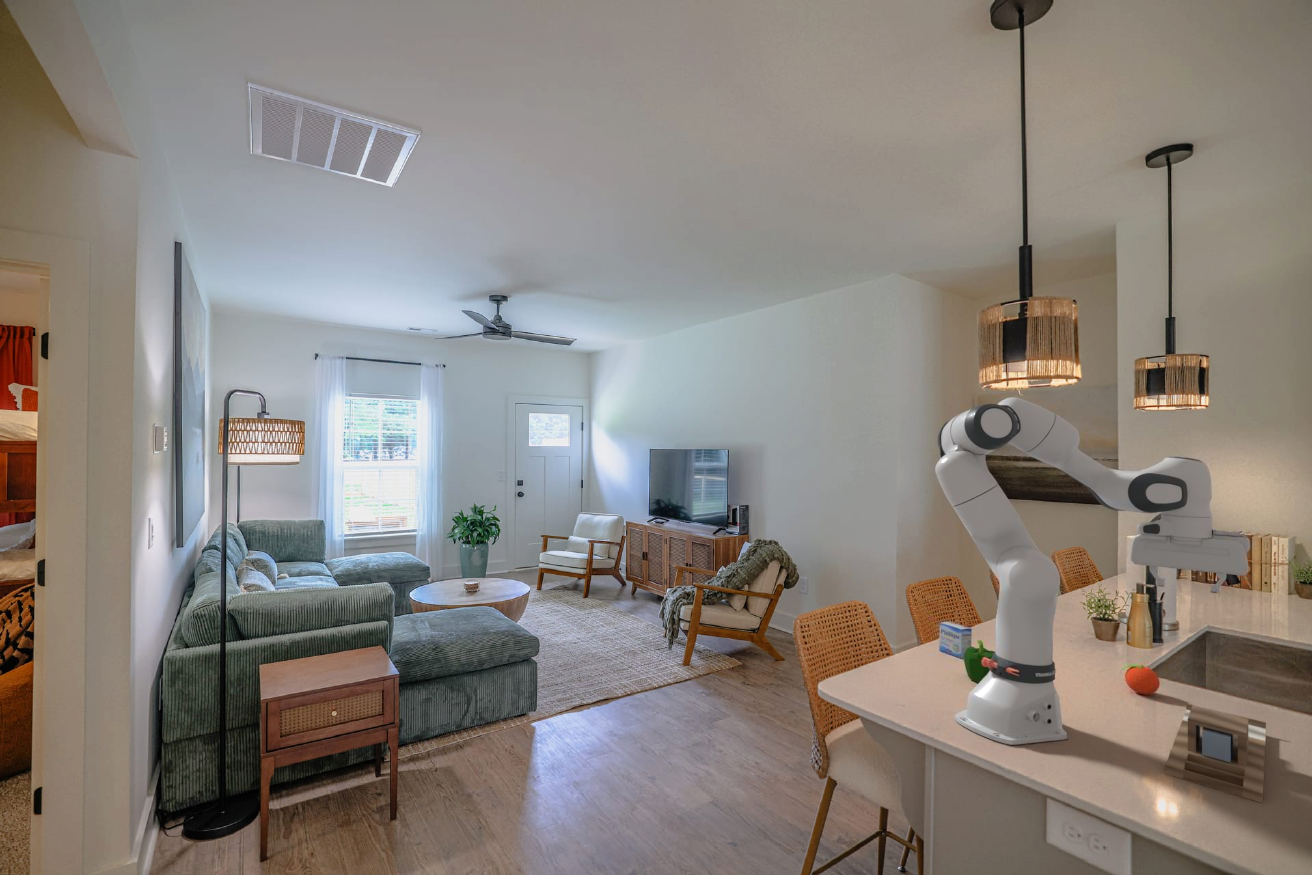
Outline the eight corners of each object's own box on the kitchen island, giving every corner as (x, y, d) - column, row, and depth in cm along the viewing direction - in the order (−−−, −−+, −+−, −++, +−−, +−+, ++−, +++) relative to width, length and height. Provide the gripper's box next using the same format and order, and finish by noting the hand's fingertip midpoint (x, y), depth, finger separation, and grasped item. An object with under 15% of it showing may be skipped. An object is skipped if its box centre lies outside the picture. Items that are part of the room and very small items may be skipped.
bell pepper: (996, 689, 155) (997, 649, 156) (961, 681, 160) (961, 642, 161) (1001, 679, 162) (1002, 641, 162) (967, 672, 167) (967, 635, 167)
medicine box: (938, 651, 185) (938, 622, 186) (949, 649, 187) (949, 620, 187) (961, 659, 178) (961, 629, 178) (971, 657, 180) (972, 627, 180)
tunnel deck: (1262, 802, 106) (1262, 757, 106) (1165, 773, 115) (1165, 731, 115) (1265, 735, 132) (1265, 698, 132) (1186, 715, 141) (1186, 681, 142)
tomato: (1122, 694, 154) (1122, 666, 154) (1117, 685, 160) (1117, 658, 160) (1163, 701, 150) (1163, 671, 150) (1155, 691, 156) (1155, 663, 156)
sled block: (1230, 762, 116) (1230, 738, 116) (1202, 754, 119) (1202, 731, 119) (1234, 736, 127) (1234, 714, 127) (1208, 729, 130) (1208, 708, 130)
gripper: (1250, 531, 134) (1251, 594, 133) (1132, 523, 148) (1133, 580, 148) (1249, 533, 129) (1251, 599, 129) (1128, 525, 144) (1129, 584, 143)
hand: (1187, 589), depth 139 cm, fingers open, 8 cm apart
